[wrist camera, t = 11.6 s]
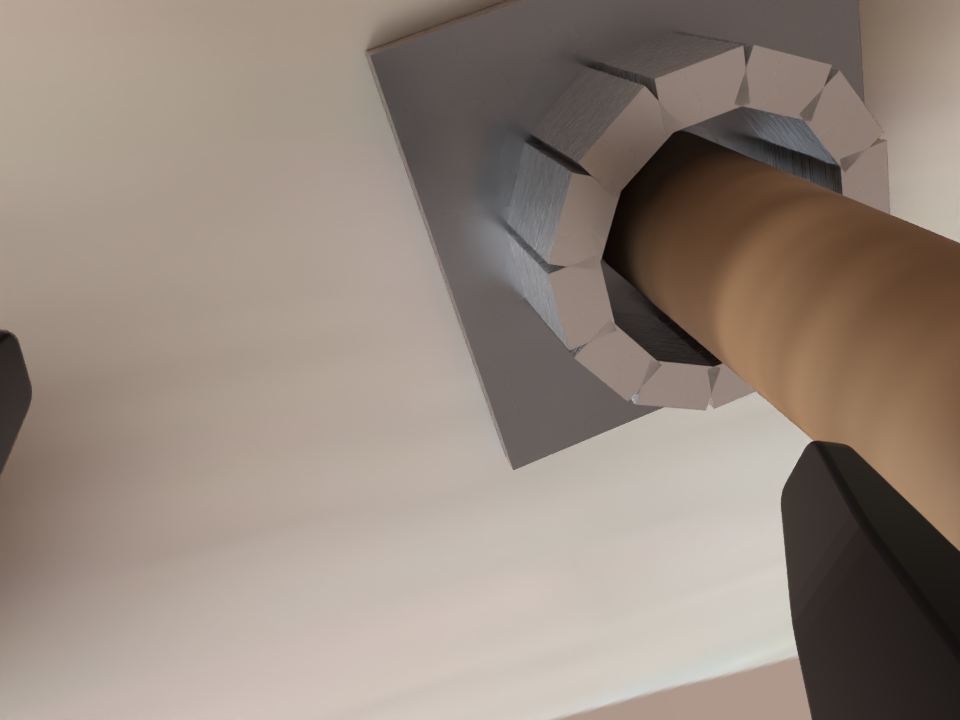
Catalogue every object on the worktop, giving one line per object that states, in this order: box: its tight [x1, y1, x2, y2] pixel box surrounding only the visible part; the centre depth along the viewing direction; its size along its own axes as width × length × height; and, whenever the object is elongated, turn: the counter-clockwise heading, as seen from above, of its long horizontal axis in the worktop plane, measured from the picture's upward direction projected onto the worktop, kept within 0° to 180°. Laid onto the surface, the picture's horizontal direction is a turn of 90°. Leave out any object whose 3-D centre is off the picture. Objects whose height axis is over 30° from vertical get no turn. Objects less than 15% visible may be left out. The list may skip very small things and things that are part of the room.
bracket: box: [365, 0, 890, 470], centre depth 21 cm, size 12×12×4 cm
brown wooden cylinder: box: [602, 130, 960, 551], centre depth 16 cm, size 4×4×13 cm
